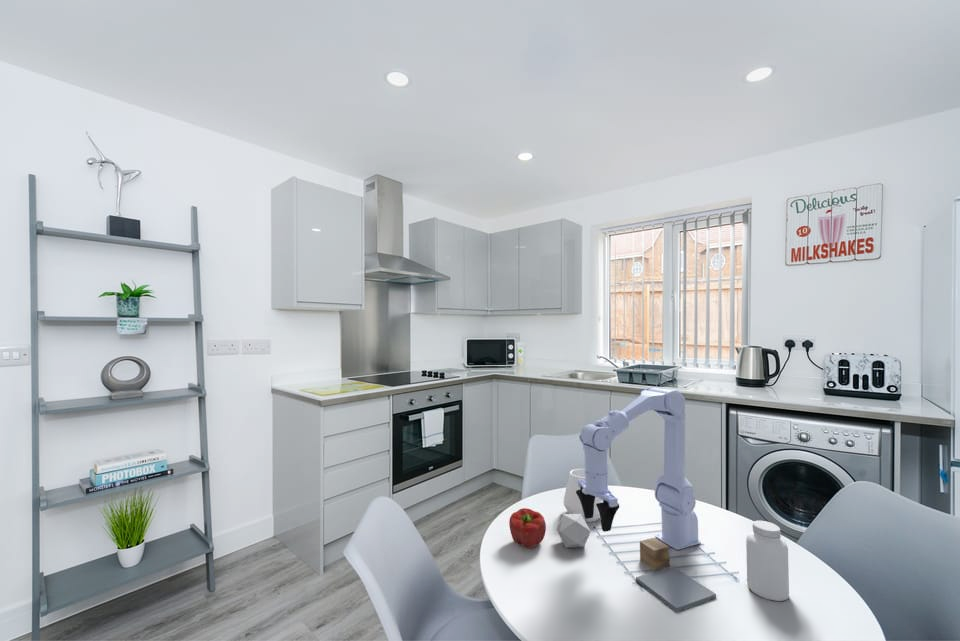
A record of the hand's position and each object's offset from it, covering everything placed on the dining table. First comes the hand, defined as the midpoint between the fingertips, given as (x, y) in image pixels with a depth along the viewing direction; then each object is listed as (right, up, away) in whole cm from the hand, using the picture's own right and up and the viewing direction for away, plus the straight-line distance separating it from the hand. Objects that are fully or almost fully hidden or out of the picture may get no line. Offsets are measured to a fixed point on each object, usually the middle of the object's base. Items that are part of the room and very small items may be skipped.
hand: (597, 523), depth 106 cm
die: (-4, -11, +9) cm, 14 cm away
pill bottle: (+36, -9, -13) cm, 39 cm away
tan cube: (+15, -10, -1) cm, 18 cm away
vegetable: (-17, -11, +9) cm, 22 cm away
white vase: (+4, -11, +27) cm, 30 cm away
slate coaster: (+15, -9, -11) cm, 21 cm away
